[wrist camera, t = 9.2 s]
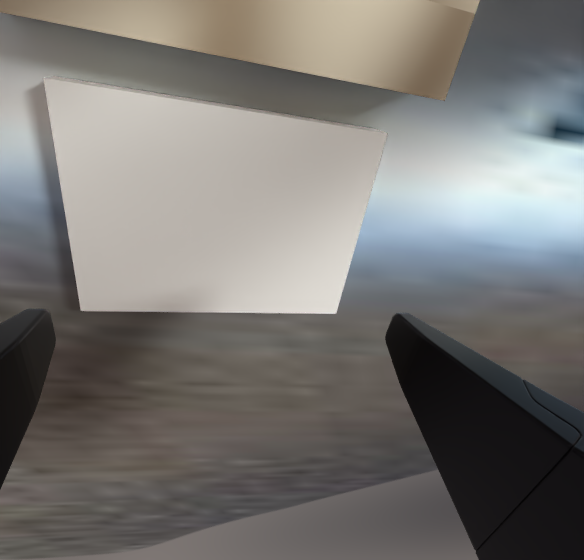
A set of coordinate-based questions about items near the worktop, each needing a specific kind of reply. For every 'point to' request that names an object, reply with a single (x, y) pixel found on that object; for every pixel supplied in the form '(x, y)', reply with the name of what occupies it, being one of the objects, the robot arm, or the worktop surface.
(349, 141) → the tile
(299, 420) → the worktop surface
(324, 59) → the frame
